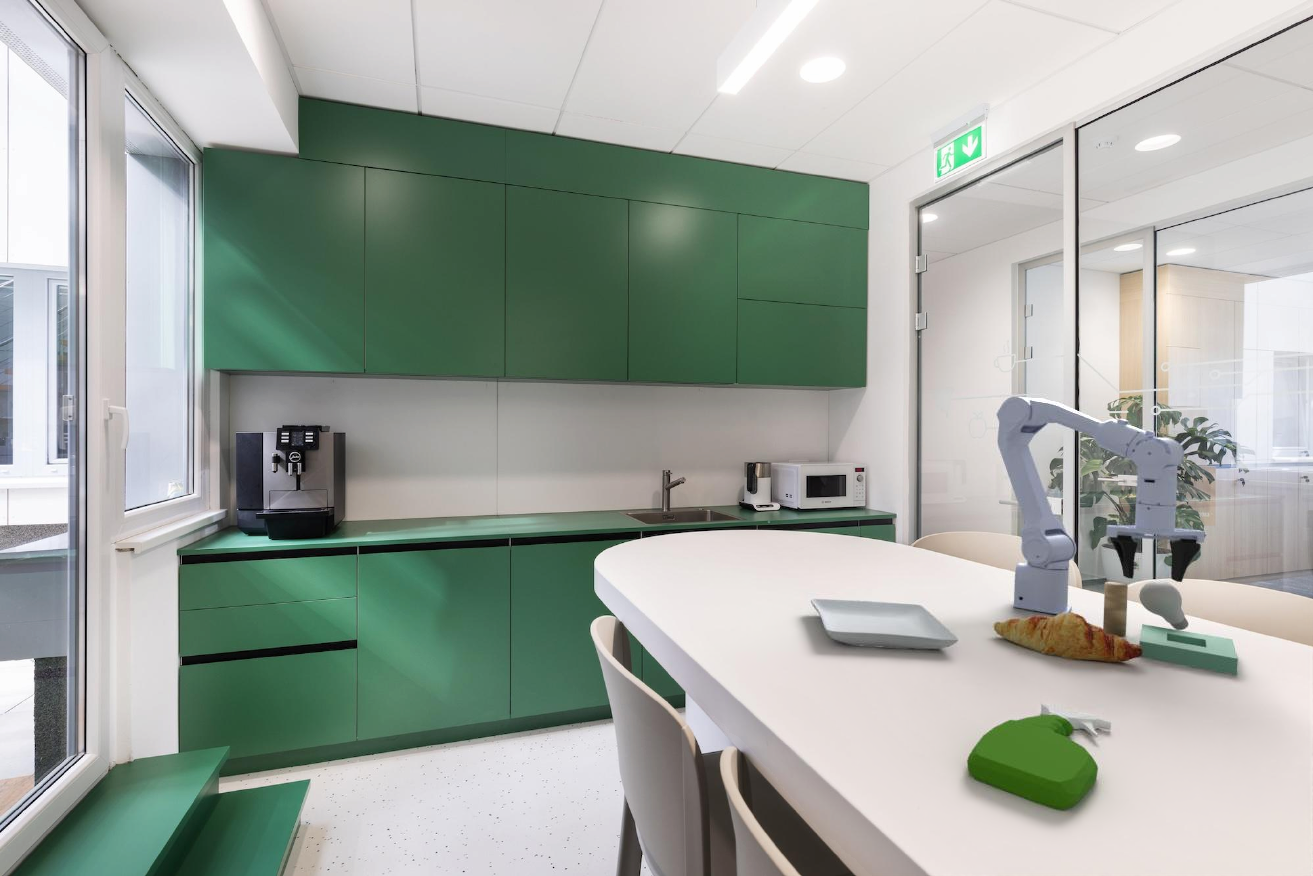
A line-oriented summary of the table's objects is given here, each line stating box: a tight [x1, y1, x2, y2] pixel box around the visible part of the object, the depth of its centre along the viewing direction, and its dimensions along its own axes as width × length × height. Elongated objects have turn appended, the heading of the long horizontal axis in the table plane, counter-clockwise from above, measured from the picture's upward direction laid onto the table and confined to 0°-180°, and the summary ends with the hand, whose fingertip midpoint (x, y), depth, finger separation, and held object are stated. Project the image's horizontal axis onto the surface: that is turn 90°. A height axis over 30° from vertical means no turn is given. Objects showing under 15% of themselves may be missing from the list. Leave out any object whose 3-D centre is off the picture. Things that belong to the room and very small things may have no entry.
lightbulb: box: [1139, 580, 1189, 631], centre depth 119 cm, size 6×6×11 cm
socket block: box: [1138, 624, 1239, 675], centre depth 107 cm, size 12×12×2 cm
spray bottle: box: [966, 703, 1112, 811], centre depth 74 cm, size 3×11×24 cm
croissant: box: [993, 611, 1143, 663], centre depth 108 cm, size 21×10×8 cm, turn 52°
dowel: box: [1102, 581, 1129, 637], centre depth 118 cm, size 3×3×9 cm
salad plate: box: [810, 598, 959, 650], centre depth 116 cm, size 21×21×3 cm
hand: (1152, 579), depth 117 cm, fingers open, 7 cm apart
